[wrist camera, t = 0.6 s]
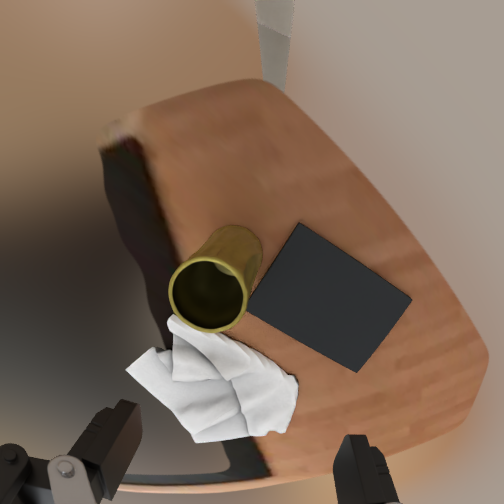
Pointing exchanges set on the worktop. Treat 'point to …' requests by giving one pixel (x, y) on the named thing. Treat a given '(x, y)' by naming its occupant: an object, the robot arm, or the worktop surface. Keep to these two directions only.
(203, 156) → the worktop surface
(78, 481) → the robot arm
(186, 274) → the vase
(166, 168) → the worktop surface
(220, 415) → the cloth
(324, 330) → the mat
